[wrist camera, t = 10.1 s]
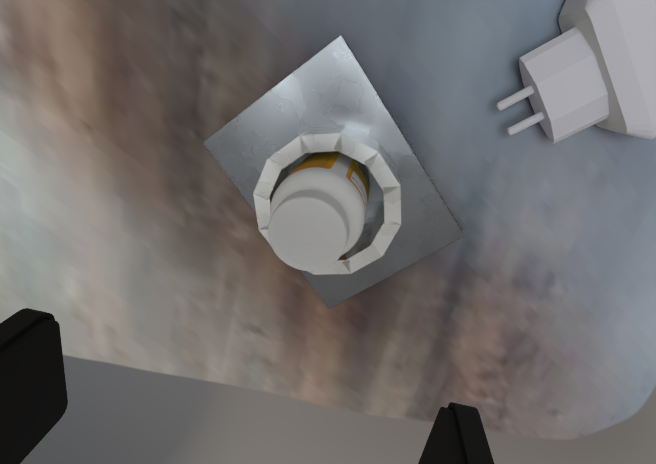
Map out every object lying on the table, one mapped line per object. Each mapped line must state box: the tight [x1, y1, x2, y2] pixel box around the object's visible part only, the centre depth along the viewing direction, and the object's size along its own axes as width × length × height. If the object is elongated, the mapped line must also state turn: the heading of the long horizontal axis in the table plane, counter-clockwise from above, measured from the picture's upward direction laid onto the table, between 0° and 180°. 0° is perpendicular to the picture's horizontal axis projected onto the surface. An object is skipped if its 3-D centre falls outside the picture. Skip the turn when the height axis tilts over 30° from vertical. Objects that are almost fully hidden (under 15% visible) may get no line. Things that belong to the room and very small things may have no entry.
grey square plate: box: [203, 35, 464, 308], centre depth 27 cm, size 16×12×6 cm
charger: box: [496, 0, 656, 144], centre depth 23 cm, size 5×9×15 cm
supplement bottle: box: [268, 151, 370, 271], centre depth 24 cm, size 5×5×10 cm
